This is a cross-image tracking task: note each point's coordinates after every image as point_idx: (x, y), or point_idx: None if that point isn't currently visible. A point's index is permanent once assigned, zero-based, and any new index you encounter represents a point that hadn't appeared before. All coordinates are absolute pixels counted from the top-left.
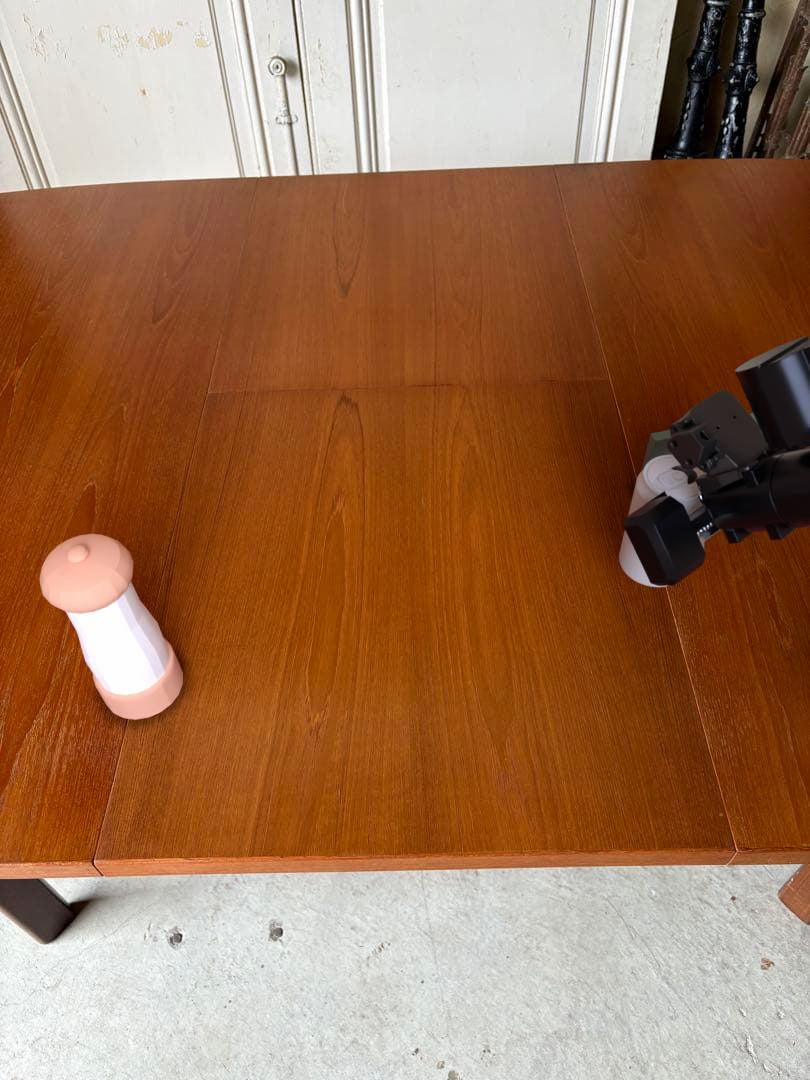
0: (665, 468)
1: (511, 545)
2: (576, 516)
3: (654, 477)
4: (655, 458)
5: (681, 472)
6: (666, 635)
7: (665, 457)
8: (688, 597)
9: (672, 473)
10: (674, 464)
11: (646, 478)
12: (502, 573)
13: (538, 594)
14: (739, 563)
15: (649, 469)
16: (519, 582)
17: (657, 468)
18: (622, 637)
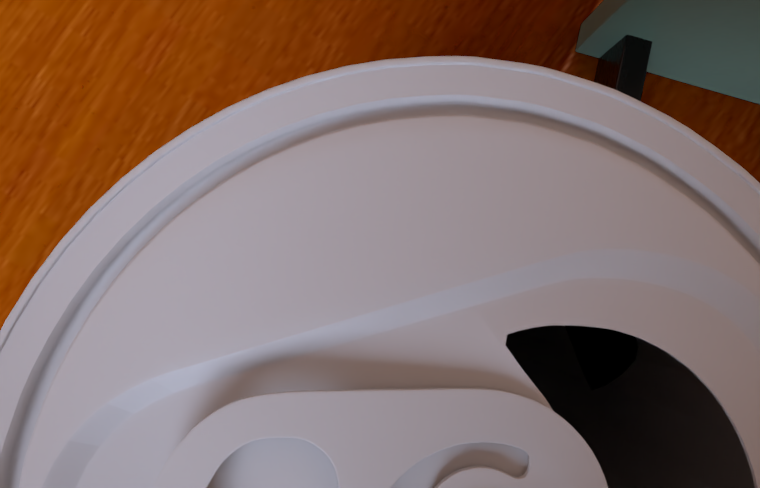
0: (443, 296)
1: (142, 8)
2: (369, 19)
3: (160, 378)
4: (451, 69)
5: (584, 478)
6: None
7: (585, 125)
8: None
9: (457, 438)
10: (603, 296)
11: (46, 329)
12: (55, 77)
13: (98, 190)
14: None
15: (221, 200)
16: (78, 128)
17: (342, 240)
18: None
